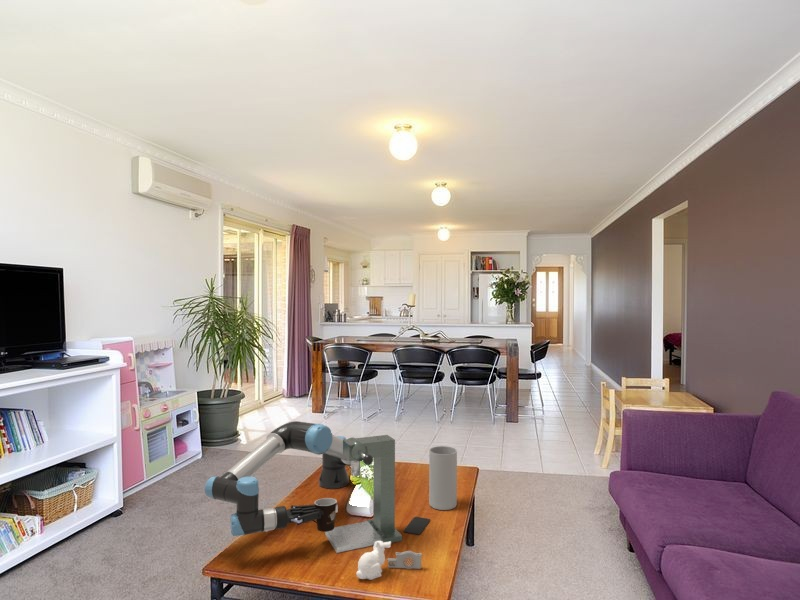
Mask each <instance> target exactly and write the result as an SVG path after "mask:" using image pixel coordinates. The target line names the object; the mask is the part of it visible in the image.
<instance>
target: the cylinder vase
mask: <svg viewBox="0 0 800 600" xmlns="http://www.w3.org/2000/svg"><path fill="white" fill-rule="evenodd" d="M428 458H429V461H428V462H429V463H428V464H429V465H428V466H429V468H428V469H429V470H428V475H429V476H428V480H429V481H428V483H429V484H428V485H429V486H428V489H429V491H428V492H429V493H428V500H429V501H428V504H429V506H430V507H431V508H433V509H435V510H437V511H450V510H453V509H455V508H456V506H457V503H458V501H457V500H458V498H457V497H458V496H457V495H458V494H457V493H458V492H457V489H458V488H457V486H458V481H457V480H458V477H457V476H458V475H457V474H458V450H457V449H456V448H455V447H451V446H444V445H440V446H439V445H438V446H433V447H431V448H429V455H428Z"/></svg>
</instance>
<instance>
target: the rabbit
mask: <svg viewBox="0 0 800 600" xmlns="http://www.w3.org/2000/svg"><path fill="white" fill-rule="evenodd" d="M391 545H392V543H391V541H390V542H384V543H383V541H376V542H375V543H374V545H373V547H372V548H373V550H372V551H368V552H367V551H366V552H364V553H363V554H362V555H361V556H360V558H359V560H358V562H357V571H356V577H357V578H358V579H360V580H371V581H372V580H375V579H377V578H380V577H382V572H383V569H382V568H381V566H382V565H384V563H385V561H386V557H385V556H386V555H385V550H386V549H385V548H387V549H388V548H391Z"/></svg>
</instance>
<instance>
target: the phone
mask: <svg viewBox="0 0 800 600" xmlns="http://www.w3.org/2000/svg"><path fill="white" fill-rule="evenodd" d="M430 522H431V519H430V518H427V517H421V516H414V517H413V518H412V519H411V521H409V523H408V524H407V525H406V526H405V528H404V529H403V533H405V534H407V535H408V534H409V535H415V536H420V535H421V534H423V532H424V531H425V529H426V528H427V527H428V525H429V524H430ZM425 527H426V528H425Z"/></svg>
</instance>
